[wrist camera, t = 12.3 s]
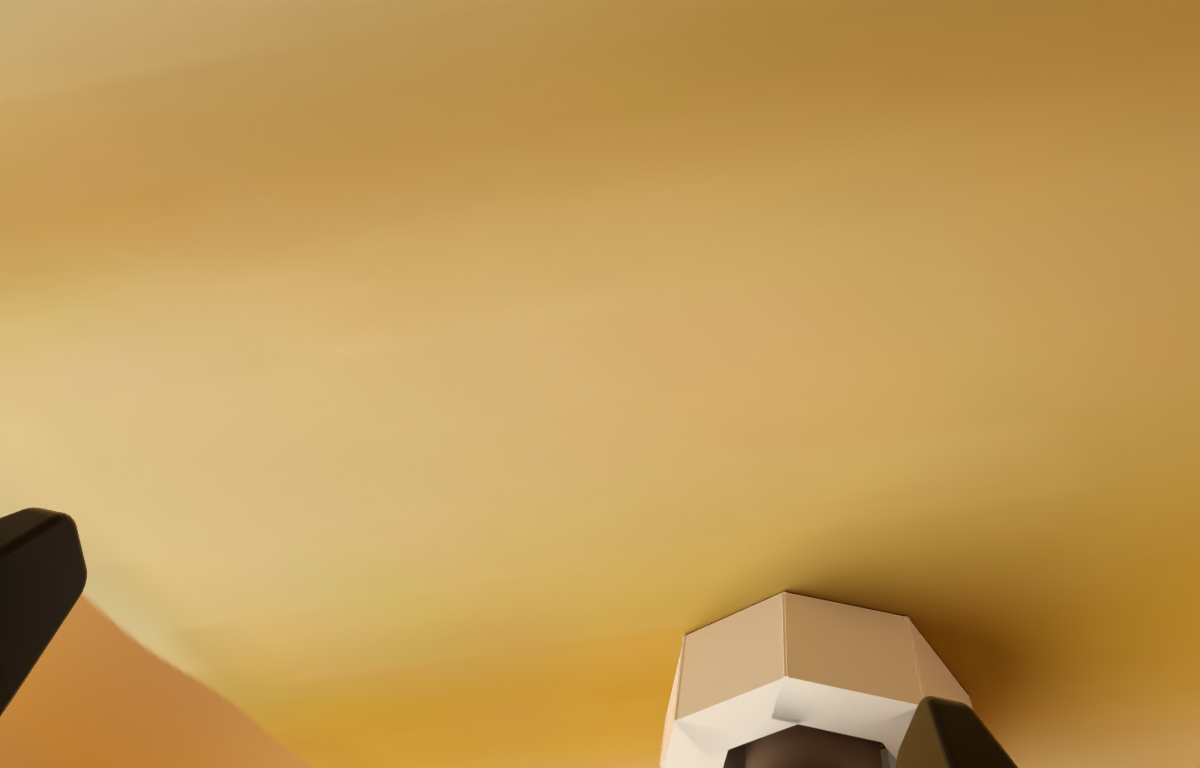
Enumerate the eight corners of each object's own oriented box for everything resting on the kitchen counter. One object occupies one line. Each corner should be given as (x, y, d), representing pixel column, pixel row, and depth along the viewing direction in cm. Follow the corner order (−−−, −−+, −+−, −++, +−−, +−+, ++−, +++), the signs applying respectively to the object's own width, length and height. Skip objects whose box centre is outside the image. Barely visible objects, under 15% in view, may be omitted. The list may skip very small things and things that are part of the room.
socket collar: (998, 634, 23) (1029, 727, 20) (910, 821, 27) (925, 919, 24) (697, 573, 23) (688, 655, 21) (654, 764, 27) (642, 852, 25)
